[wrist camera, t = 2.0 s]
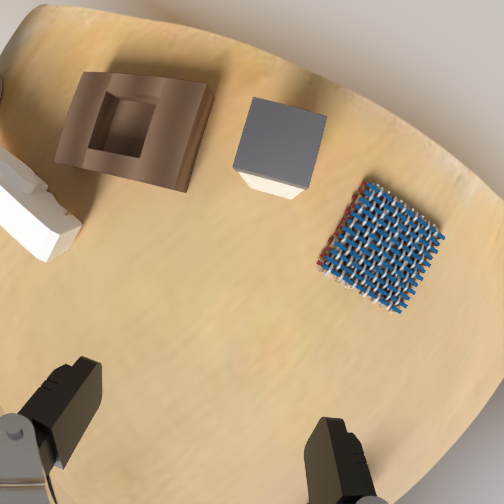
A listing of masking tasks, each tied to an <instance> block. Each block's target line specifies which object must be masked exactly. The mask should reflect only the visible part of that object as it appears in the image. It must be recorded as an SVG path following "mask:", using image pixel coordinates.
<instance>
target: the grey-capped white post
mask: <svg viewBox="0 0 504 504" xmlns="http://www.w3.org/2000/svg"><path fill="white" fill-rule="evenodd" d="M326 119H327V116H324V115H321V114H317V113H314V112H310V111H307V110H303V109H300V108H296V107H292V106H289V105H285V104H281V103H277V102H273V101H269V100H265V99H260V98H256V97H253V100H252V103H251V106H250V109H249V113H248V116H247V119H246V123H245V126H244V129H243V133H242V136H241V139H240V143H239V146H238V150H237V153H236V156H235V160H234V163H233V168H234V169H235V171H238V172H239V174H240V175H241V176H242V178H243V179H244V180H245V181H246V183H247V184H248V185H249V186H250V188H252V189H256V190H259V191H263V192H267V193H270V194H274V195H277V196H281V197H285V198H288V199H293V198H294V197H295V196H297V195H298V194H299V193H301V192H302V191H303V190H306V189H308V188H309V185H310V181H311V177H312V173H313V170H314V166H315V162H316V158H317V154H318V151H319V147H320V143H321V139H322V135H323V131H324V127H325V123H326Z"/></svg>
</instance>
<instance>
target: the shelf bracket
mask: <svg viewBox="0 0 504 504" xmlns="http://www.w3.org/2000/svg"><path fill="white" fill-rule="evenodd" d="M47 189H48V185H47V184H46V183H45V182H44V181H43V180H42V179H40V178H39V177H38V176H37V175H36V174H35V173H34V171H33V170H31V169H30V168H29V167H28V166H27V165H26V164H24V163H23V162H22V161H20V160H19V159H18V158H16V157H15V156H14V155H12V154H11V153H10V152H9V151H7V150H6V149H5V148H3V147H2V146H1V145H0V225H1V226H2V227H3V228H4V229H5V230H6V231H7V232H8V233H9V234H11V235H12V236H13V237H14V238H15V239H16V240H17V241H18V242H19V243H20V244H21V245H23V246H24V247H25V248H26V249H27V250H28V251H29V252H30V253H32V254H33V255H34V256H35V257H36V258H37V259H40V260H42V261H44V262H48V261H50V260H52V259H53V258H55V257H57V256H58V255H60V254H62V253H64V252H65V251H67V250H69V248H70V247H71V245H72V243H73V241H74V239H75V237H76V236H77V234H78V232H79V230H80V228H81V227H82V223H81V221H79V220H78V219H77V218H76V217H74V216H73V215H72V214H70V215H67V216H66V215H65V214H66V213H67V210H66V209H65V208H63V207H62V206H61V205H60V204H59V203H57V201H56V199H55V197H54V196H53V194H52V193H49V192H47V191H46V190H47Z"/></svg>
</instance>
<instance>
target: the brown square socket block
mask: <svg viewBox="0 0 504 504" xmlns="http://www.w3.org/2000/svg"><path fill="white" fill-rule="evenodd" d="M213 101H214V97H213V95H212V93H211V91H210V89H209V87H208V85H207V84H205V83H199V82H193V81H186V80H179V79H172V78H164V77H155V76H145V75H134V74H121V73H104V72H83V74H82V76H81V79H80V81H79V84H78V87H77V89H76V92H75V95H74V97H73V100H72V103H71V106H70V109H69V112H68V115H67V118H66V121H65V124H64V127H63V131H62V134H61V137H60V141H59V144H58V148H57V151H56V155H55V159H54V162H55V163H59V164H64V165H69V166H74V167H78V168H83V169H87V170H92V171H96V172H101V173H105V174H110V175H114V176H118V177H123V178H127V179H131V180H135V181H140V182H144V183H148V184H152V185H156V186H160V187H164V188H168V189H172V190H177V191H181V192H185V193H186V191H187V188H188V184H189V180H190V177H191V173H192V170H193V166H194V163H195V159H196V156H197V152H198V149H199V146H200V142H201V139H202V136H203V133H204V129H205V126H206V123H207V120H208V117H209V113H210V110H211V107H212V104H213Z"/></svg>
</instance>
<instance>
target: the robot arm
mask: <svg viewBox="0 0 504 504" xmlns="http://www.w3.org/2000/svg"><path fill="white" fill-rule="evenodd" d="M1 94H2V79H1V77H0V98H1ZM101 399H102V365H101V363H99V362H96V361H94V360H91V359H89V358H86V357H83V356H81V357H80V358H79V359H78V360H77V361H76V362H75V364H74V365H73V366H70V365H67V364H65V365H63V366H61V367H59V368H57V369H55V370H54V371H53V372H52V373H51V374H50V375H49V377H48V378H47V380H45V381H44V382H43V384H42V385H41V387H39V388H38V389H37V391H36V392H35V393H34V394H33V395H32V397H31V398H30V399H29V400H28V402H27V403H26V404H25V405H24V406H23V408H22V409H21V410H20V411H19V412H18V413H17V414H15V413H10V414H5V415H3V416H1V417H0V504H59V503H58V500H57V497H56V494H55V490H54V487H53V484H52V480H51V476H50V471H51V469H52V468H53V466H57V467H59V468H61V469H63V470H64V468H65V466H66V464H67V462H68V461H69V459H70V457H71V455H72V453H73V451H74V450H75V448H76V446H77V444H78V443H79V441H80V439H81V437H82V436H83V434H84V432H85V430H86V429H87V427H88V425H89V423H90V422H91V420H92V418H93V416H94V415H95V413H96V411H97V410H98V408H99V406H100V403H101ZM304 461H305V469H306V478H307V486H308V494H309V503H310V504H388V503H387V502H386V501H385V500H384V499H382V498H379V497H377V495H376V492H375V488H374V485H373V481H372V478H371V475H370V471H369V468H368V465H367V464H366V463H367V461H366V458H365V456H364V452H363V448H362V445H361V442H360V441H359V440H358V439H357V437H356V436H355V435H354V434H353V433H348V432H347V430H346V426H345V423H344V420H343V419H340V418H330V417H322V418H321V419H320V420H319V422H318V424H317V425H316V427H315V429H314V431H313V432H312V434H311V436H310V438H309V439H308V441H307V443H306V446H305V450H304Z"/></svg>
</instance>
